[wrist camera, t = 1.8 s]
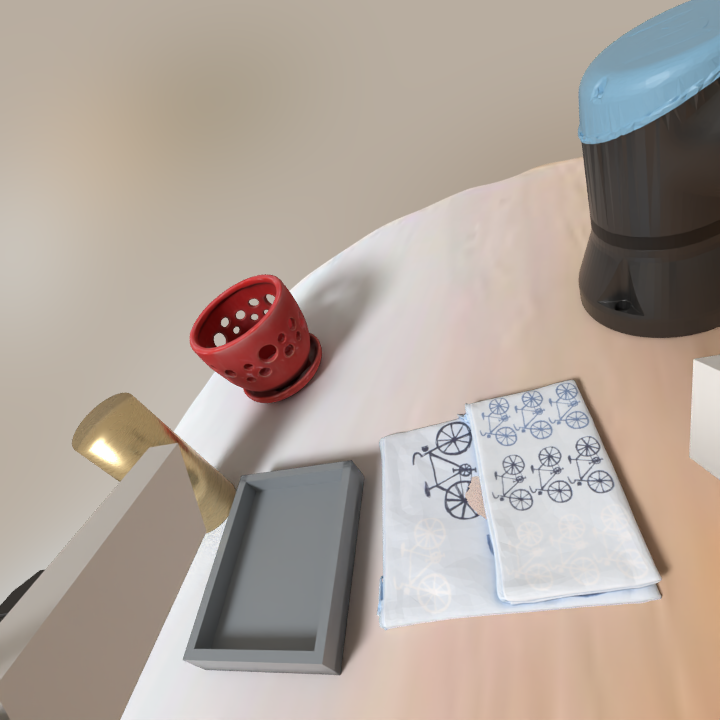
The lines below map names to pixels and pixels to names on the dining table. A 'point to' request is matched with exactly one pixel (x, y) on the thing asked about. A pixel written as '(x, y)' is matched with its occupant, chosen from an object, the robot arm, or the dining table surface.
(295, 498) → the slate tray
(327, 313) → the dining table surface
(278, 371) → the plant pot
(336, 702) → the dining table surface
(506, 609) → the bicycle print cloth
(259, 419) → the dining table surface
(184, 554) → the robot arm
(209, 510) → the cylinder
